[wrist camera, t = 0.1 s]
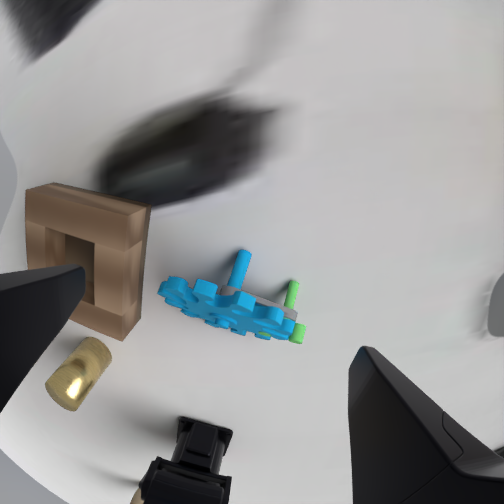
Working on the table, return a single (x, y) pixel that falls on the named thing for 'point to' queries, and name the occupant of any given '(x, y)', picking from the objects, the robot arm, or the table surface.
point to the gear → (236, 305)
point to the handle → (137, 498)
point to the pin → (78, 373)
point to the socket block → (92, 250)
